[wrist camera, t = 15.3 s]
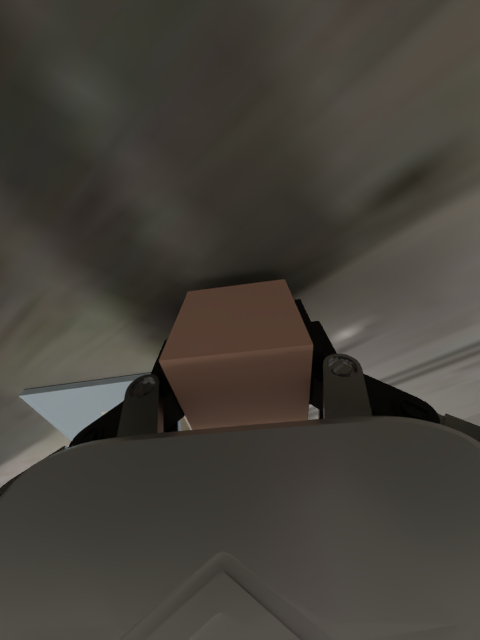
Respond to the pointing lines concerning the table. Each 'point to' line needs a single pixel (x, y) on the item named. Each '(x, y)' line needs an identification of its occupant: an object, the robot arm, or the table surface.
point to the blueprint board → (78, 402)
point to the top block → (240, 356)
